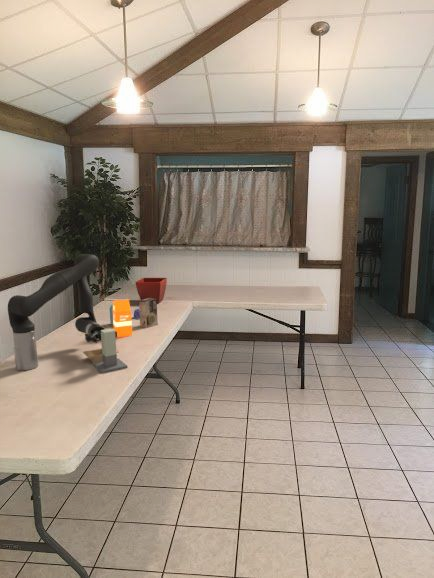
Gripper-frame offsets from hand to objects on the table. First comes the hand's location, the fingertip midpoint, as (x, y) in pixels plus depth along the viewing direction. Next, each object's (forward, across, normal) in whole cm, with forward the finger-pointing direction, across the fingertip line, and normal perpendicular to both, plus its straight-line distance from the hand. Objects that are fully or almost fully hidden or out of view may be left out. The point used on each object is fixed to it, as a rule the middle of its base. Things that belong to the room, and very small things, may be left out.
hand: (105, 339), depth 209 cm
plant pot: (-114, +71, +12) cm, 135 cm away
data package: (-65, +30, +12) cm, 73 cm away
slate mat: (+4, 0, +12) cm, 12 cm away
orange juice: (-42, +23, +12) cm, 50 cm away
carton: (-9, 0, +12) cm, 15 cm away
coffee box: (-52, +43, +12) cm, 69 cm away
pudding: (-76, +46, +12) cm, 89 cm away
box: (+4, 0, +11) cm, 11 cm away
